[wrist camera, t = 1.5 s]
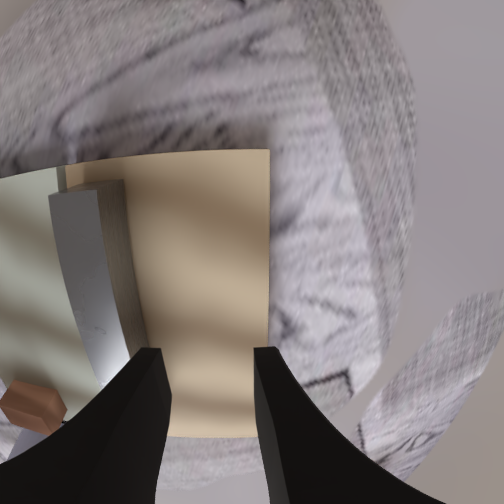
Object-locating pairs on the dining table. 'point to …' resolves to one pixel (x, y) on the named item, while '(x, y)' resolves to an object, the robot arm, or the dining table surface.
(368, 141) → the dining table surface
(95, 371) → the bar
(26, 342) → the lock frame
